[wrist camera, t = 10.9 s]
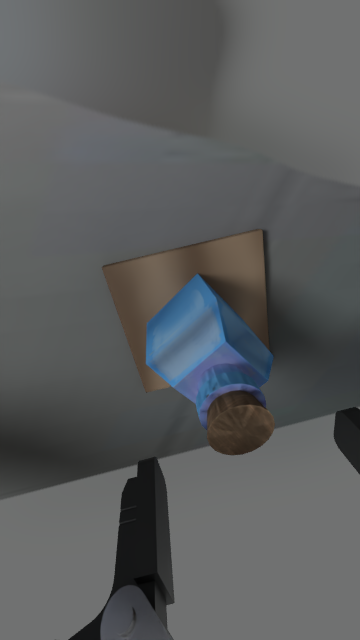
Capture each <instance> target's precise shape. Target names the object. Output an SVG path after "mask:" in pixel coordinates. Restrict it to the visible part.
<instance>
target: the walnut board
mask: <svg viewBox="0 0 360 640" xmlns="http://www.w3.org/2000/svg"><path fill="white" fill-rule="evenodd" d="M102 270H103V272H104V275H105V278H106V281H107V284H108V287H109V289H110V292H111V295H112V298H113V301H114V304H115V306H116V309H117V312H118V315H119V318H120V320H121V323H122V326H123V329H124V332H125V335H126V337H127V340H128V343H129V346H130V349H131V352H132V354H133V357H134V360H135V363H136V366H137V369H138V371H139V374H140V377H141V380H142V383H143V386H144V388H145V391H146V392H150V391H154V390H158V389H163V388H167V387H171V385H170V384H169V383H167V382H166V381H165V380H164V379H163V378H162V377H160V376H159V375H158V374H157V373H156V372H155V371H154V370H152V369H151V368H150V367H149V366H148V365H147V364H146V335H147V323H148V322H149V321H150V320H151V319H152V318H153V317H154V316H155V315H156V314H157V313H158V312H159V311H160V310H161V309H162V308H163V307H164V306H165V305H166V304H167V303H168V302H169V301H170V300H171V299H172V298H173V297H174V296H175V295H176V294H177V293H178V292H179V291H180V290H181V289H182V288H183V287H184V286H185V285H186V284H187V283H188V282H189V281H190V280H191V279H192V278H193V277H194V276H195V275H196V274H197V273H198V274H199V275H200V276H201V277H202V278H203V279H204V280H205V282H206V283H207V284H208V285H209V286H210V287H211V288H212V289H213V290H214V291H215V292H216V293H217V294H218V295H219V296H220V297H221V298H222V299H223V300H224V301H225V302H226V303H227V304H228V305H229V306H230V307H231V308H232V309H233V310H234V311H235V312H236V313H237V314H238V315H239V316H240V317H241V318H242V319H243V320H244V322H245V323H246V324H247V325H248V326H249V328H250V329H251V330H252V331H253V332H254V333H255V335H256V336H257V337H258V338H259V339H260V341H261V342H262V343H263V344H264V345H265V346H266V348H267V349H268V350H269V336H268V319H267V302H266V285H265V268H264V251H263V233H262V230H261V229H256V230H252V231H248V232H243V233H239V234H235V235H231V236H227V237H222V238H218V239H214V240H210V241H205V242H201V243H197V244H193V245H189V246H184V247H180V248H176V249H172V250H167V251H163V252H159V253H155V254H151V255H146V256H142V257H138V258H134V259H129V260H125V261H121V262H117V263H113V264H108V265H104V266H103V267H102Z"/></svg>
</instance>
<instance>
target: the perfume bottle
mask: <svg viewBox="0 0 360 640" xmlns="http://www.w3.org/2000/svg"><path fill="white" fill-rule="evenodd" d="M273 357H274V356H273V355H272V354H271V352H270V351H269V350H268V349H267V348H266V346H265V345H264V344H263V343H262V342H261V341H260V339H259V338H258V337H257V336H256V335H255V333H254V332H253V331H252V330H251V329H250V328H249V326H248V325H247V324H246V323H245V322H244V320H243V319H242V318H241V317H240V316H239V315H238V314H237V313H236V312H235V311H234V310H233V309H232V308H231V307H230V306H229V305H228V304H227V303H226V302H225V301H224V300H223V299H222V298H221V297H220V296H219V295H218V294H217V293H216V292H215V291H214V290H213V289H212V288H211V287H210V286H209V285H208V284H207V283H206V282H205V280H204V279H203V278H202V277H201V276H200V275H199V274H198V273H197V274H196V275H195V276H194V277H193V278H192V279H191V280H190V281H189V282H188V283H187V284H186V285H185V286H184V287H183V288H182V289H181V290H180V291H179V292H178V293H177V294H176V295H175V296H174V297H173V298H172V299H171V300H170V301H169V302H168V303H167V304H166V305H165V306H164V307H163V308H162V309H161V310H160V311H159V312H158V313H157V314H156V315H155V316H154V317H153V318H152V319H151V320H150V321H149V322H148V323H147V335H146V364H147V365H148V366H149V367H150V368H151V369H152V370H154V371H155V372H156V373H157V374H158V375H159V376H160V377H162V378H163V379H164V380H165V381H166V382H167V383H169V384H170V385H171V386H172V387H173V388H175V389H176V390H177V391H179V392H180V393H181V394H183V395H184V396H186V397H187V398H188V399H190V400H191V401H193V402H194V403H195V404H196V407H197V411H198V415H199V419H200V422H201V424H202V426H203V427H204V428H205V429H206V430H207V439H208V442H209V444H210V446H211V447H212V448H213V449H214V450H215V451H217V452H220V453H222V454H226V455H240V454H244V453H248V452H251V451H253V450H255V449H257V448H259V447H260V446H262V445H263V444H264V443H265V442H266V441H267V440H268V439H269V438H270V436H271V434H272V433H273V430H274V426H275V423H274V418H273V416H272V415H271V413H270V412H269V411H268V410H267V409H266V401H265V397H264V395H263V393H262V392H261V390H260V388H259V387H261V386H262V385H263V384H264V383H266V382H267V381H268V379H269V374H270V370H271V366H272V362H273Z"/></svg>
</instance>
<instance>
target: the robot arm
mask: <svg viewBox="0 0 360 640" xmlns="http://www.w3.org/2000/svg"><path fill="white" fill-rule="evenodd" d="M334 439H335V442H336V444H337V446H338V448H339V449H340V450H341V452H342V453H343V454H344V455H345V457H346V458H347V459H348V460H349V462H350V463H351V464H352V465H353V467H354V468H355V469H356V470H357V472H358V473H359V474H360V409H358V408H356V407H353V408H349V409H345V410H341V411H337V412H336V416H335V427H334ZM119 523H120V526H119V531H118V543H117V554H116V564H115V576H114V583H113V587H112V591H111V594H110V597H109V599H108V601H107V603H106V605H105V606H104V608H103V610H102V611H101V613H100V614H99V615H98V616H97V617H96V618H95V619H94V620H93V621H92V622H91V623H89V624H88V625H87V626H85V627H84V628H83V629H81V630H80V631H79V632H78V633H76V634H75V635H74V636H72V637H71V638H70V639H69V640H173V638H172V636H171V635H170V633H169V631H168V630H167V613H166V605H169V604H173V603H174V590H173V575H172V561H171V546H170V533H169V532H170V531H169V517H168V502H167V491H166V484H165V479H164V476H163V473H162V471H161V468H160V466H159V463H158V460H157V458H156V457H153V458H149V459H145V460H141V461H139V462H138V472H137V477H134V478H130V479H128V480H127V483H126V485H125V487H124V490H123V492H122V498H121V512H120V520H119Z"/></svg>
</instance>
